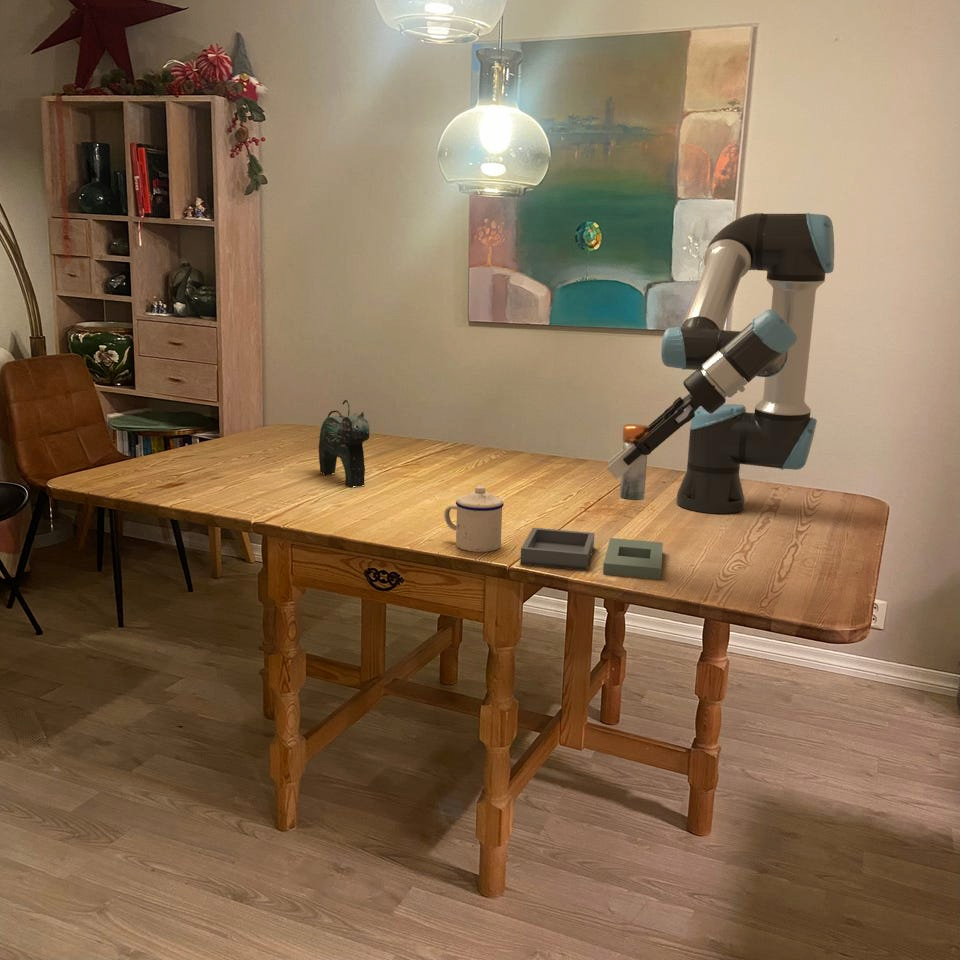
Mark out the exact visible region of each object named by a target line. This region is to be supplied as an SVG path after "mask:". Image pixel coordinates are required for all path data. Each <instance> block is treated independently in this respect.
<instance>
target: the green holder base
mask: <svg viewBox="0 0 960 960" xmlns="http://www.w3.org/2000/svg"><path fill="white" fill-rule="evenodd" d="M663 547H664V542H659V541H651V540H649V541H648V540H638V539H626V538H617V537H616V538H614V537H610V539H609V541H608V545H607V549H606V553H605V556H604V560H603V569H602V570H603V571H602V575H608V576H609V575H612V576H621V577H632V578H642V579H643V578H644V579H653V580H661V576H662V575H661V574H662V562H663Z"/></svg>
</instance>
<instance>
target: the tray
mask: <svg viewBox="0 0 960 960" xmlns="http://www.w3.org/2000/svg"><path fill="white" fill-rule="evenodd" d="M594 546H595V532H587V531H577V530H562V529H555V528H552V529H551V528H542V527H532V528H531V530H530V532H529V534H528V535H527V537H526V539H525V541H524V542H523V544H522V546H521V547H520V561H519V562H520V563H519V564H520V565H523V566H524V565H525V566H535V567H536V566H538V567H547V568H555V569H557V568H558V569H565V570H577V571H586V570H588V568H587V567H589V564H590V561H591V559H592V558H591V557H592V555H591V554H593V552H594V548H595V547H594ZM592 551H593V552H592Z"/></svg>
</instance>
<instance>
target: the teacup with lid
mask: <svg viewBox="0 0 960 960" xmlns="http://www.w3.org/2000/svg"><path fill="white" fill-rule="evenodd" d="M504 506H505V505H504V501H503V499H502V498H500V496H496V495H493V494H492V493H491V492H489V491H486V487H485V486H484V485H483V486H482V485H480V486H479V485H478V486H475V487H474V490H472V491H470V492H469V493H467V494H463V495H460V496H458V497H457V499H456V501H455V504H451V505H448V506H447V507H446V508H445V510H444V515H443V516H444V521H445V522H446V525H447V527H449V528H450V529H451V530H453V531H456V533H455V545H456V547H457V548H458V549H461V550H463V551H466V550H467V552H471V551H473V553H488V551H489V552H492V551H496V550H498V549H500V548H501V545H502V528H503V527H502V524H503V523H502V522H503V521H502V520H503V507H504ZM451 510H456V525H455V524H454V523H453V522H452V519H451V517H450V513H451Z"/></svg>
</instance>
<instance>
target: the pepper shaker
mask: <svg viewBox="0 0 960 960" xmlns="http://www.w3.org/2000/svg"><path fill="white" fill-rule="evenodd" d="M649 429H650V427H649V425H647V424H638V423H636V424H635V423H634V424H633V423H630V424H629V423H628V424H624V425H623V427H622V449H623V450H622V449H621V450H622V454H623V453H624V452H625V451H626V450H627V449H629V448H630V447H631V446H632V445H633V443H632V441H633V440H635V441H636V442H639V441H640V440H641V439H642V438H643V437H644V436H645V435H646V434H648V433H649ZM647 463H648V455H645V456H644V457H642V458H641V459H640V460H639V461H638V462H636V463H635V464H634V465H633V466H632V467H631V468H629V469H628V470H627V471H626V472H625V473H624V474H622V475H621V476H620V484H619V485H620V487H619V498H620V499H622V500H626V501H642V500H644V499H645V493H646V492H645V491H646V481H647V480H646V477H647V476H646V475H647Z"/></svg>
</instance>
